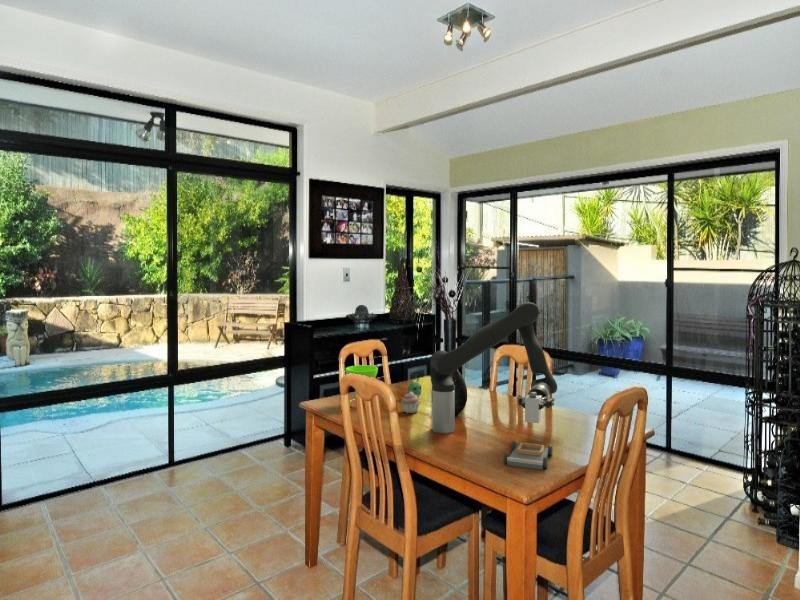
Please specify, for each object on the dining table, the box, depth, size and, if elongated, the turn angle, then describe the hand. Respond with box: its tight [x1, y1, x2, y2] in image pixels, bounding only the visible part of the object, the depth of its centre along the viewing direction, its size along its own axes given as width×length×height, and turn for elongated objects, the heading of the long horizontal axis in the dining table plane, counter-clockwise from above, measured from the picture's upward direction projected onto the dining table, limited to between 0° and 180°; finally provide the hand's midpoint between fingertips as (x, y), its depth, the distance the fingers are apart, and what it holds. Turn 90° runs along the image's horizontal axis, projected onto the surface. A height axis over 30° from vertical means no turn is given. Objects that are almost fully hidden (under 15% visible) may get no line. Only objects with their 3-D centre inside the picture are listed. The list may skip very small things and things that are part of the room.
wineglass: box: [345, 364, 379, 402], centre depth 274 cm, size 16×16×18 cm
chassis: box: [503, 440, 554, 471], centre depth 197 cm, size 18×14×4 cm
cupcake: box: [400, 391, 421, 414], centre depth 259 cm, size 9×9×10 cm
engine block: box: [524, 391, 542, 424], centre depth 203 cm, size 5×5×10 cm
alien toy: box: [407, 378, 422, 398], centre depth 285 cm, size 7×8×10 cm
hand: (531, 406), depth 200 cm, fingers closed on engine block, 5 cm apart
